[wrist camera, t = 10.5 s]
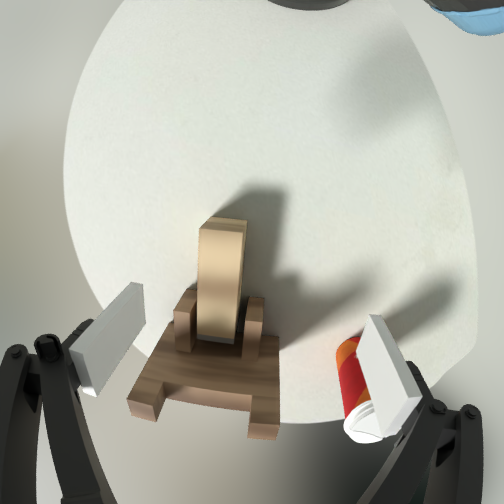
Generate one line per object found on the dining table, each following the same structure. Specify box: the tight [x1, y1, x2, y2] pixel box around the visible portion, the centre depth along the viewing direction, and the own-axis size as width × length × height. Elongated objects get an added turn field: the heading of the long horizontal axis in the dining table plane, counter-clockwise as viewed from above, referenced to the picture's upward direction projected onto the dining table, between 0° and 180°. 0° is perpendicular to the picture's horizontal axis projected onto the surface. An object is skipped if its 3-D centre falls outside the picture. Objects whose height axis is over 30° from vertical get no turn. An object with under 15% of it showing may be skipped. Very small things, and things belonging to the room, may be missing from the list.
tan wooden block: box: [197, 217, 247, 344], centre depth 34 cm, size 14×4×6 cm, turn 175°
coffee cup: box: [336, 337, 402, 443], centre depth 33 cm, size 8×8×15 cm
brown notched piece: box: [127, 289, 280, 440], centre depth 32 cm, size 9×16×16 cm, turn 85°
